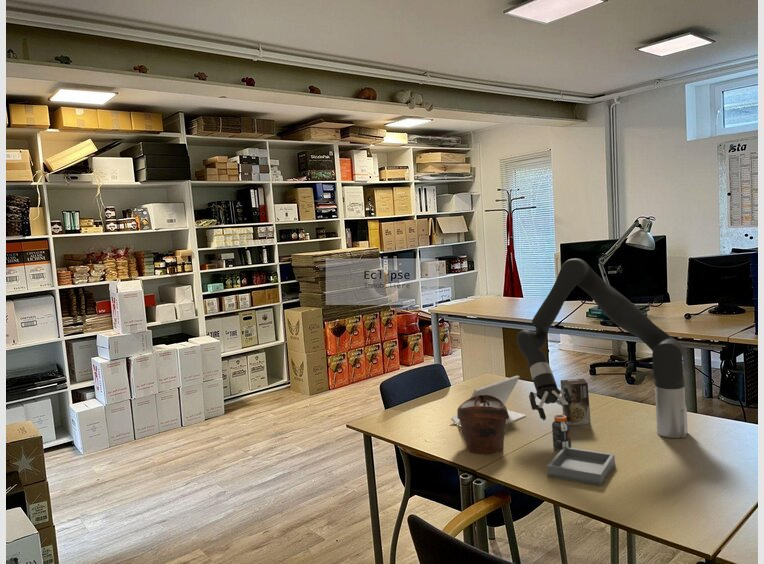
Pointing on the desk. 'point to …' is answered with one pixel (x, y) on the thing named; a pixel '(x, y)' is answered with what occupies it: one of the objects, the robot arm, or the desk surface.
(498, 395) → the tablet stand
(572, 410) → the coffee box
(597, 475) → the tray
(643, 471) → the desk surface
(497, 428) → the brown tapered container
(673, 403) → the robot arm
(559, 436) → the pill bottle
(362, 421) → the desk surface
